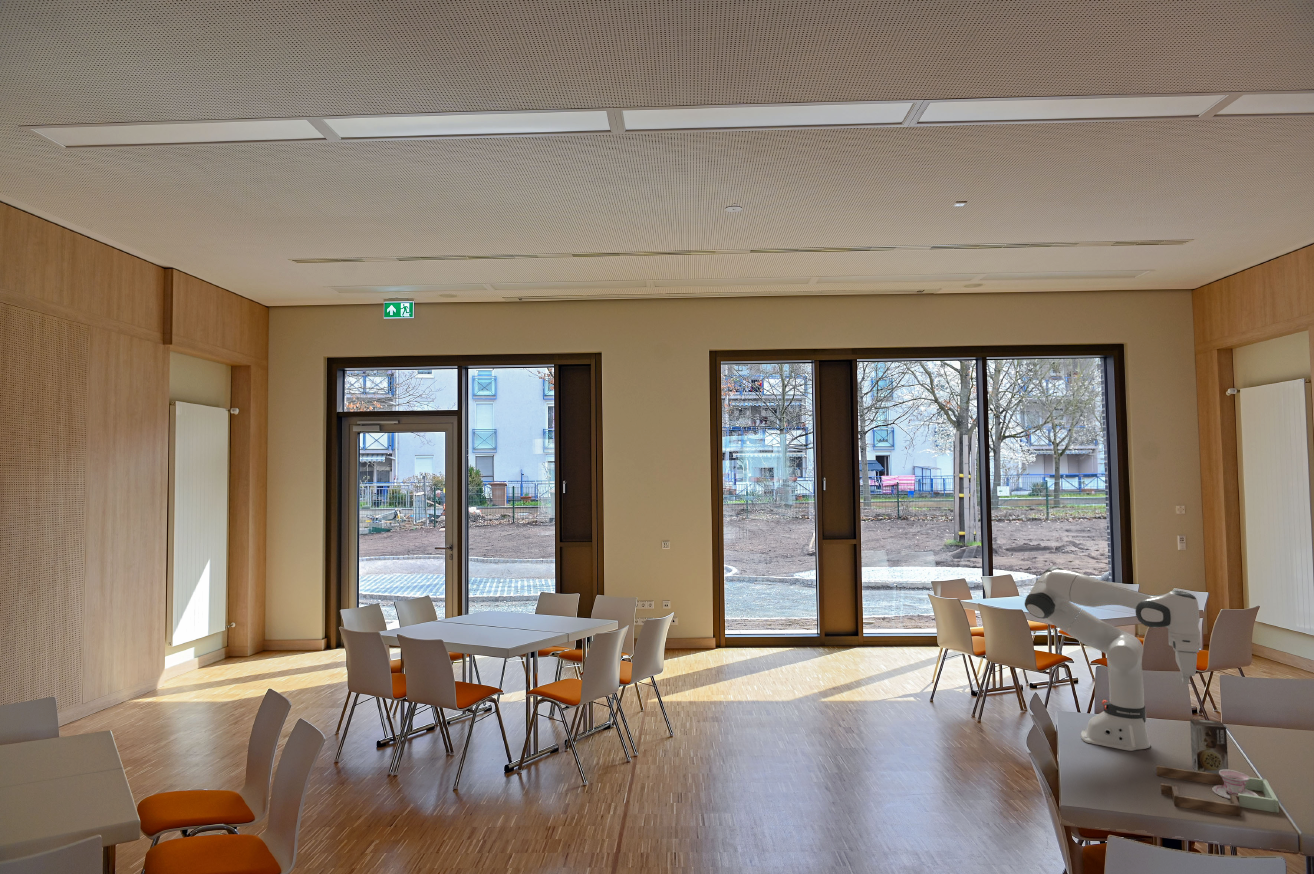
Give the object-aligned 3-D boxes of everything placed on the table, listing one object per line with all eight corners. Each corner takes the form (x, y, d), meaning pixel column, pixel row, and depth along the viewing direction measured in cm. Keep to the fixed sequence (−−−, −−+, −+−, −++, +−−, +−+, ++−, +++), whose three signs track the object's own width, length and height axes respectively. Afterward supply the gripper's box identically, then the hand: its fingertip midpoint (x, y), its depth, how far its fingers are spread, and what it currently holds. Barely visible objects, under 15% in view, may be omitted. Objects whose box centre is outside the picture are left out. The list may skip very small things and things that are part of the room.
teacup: (1203, 786, 256) (1203, 766, 256) (1243, 787, 255) (1243, 767, 255) (1226, 802, 244) (1226, 781, 244) (1268, 803, 243) (1268, 782, 243)
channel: (1163, 803, 243) (1163, 794, 243) (1156, 774, 265) (1156, 765, 265) (1244, 817, 233) (1243, 806, 234) (1229, 785, 256) (1229, 775, 256)
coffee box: (1222, 768, 269) (1220, 720, 270) (1229, 775, 263) (1227, 726, 264) (1191, 765, 272) (1189, 718, 273) (1197, 772, 266) (1195, 724, 267)
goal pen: (1239, 806, 240) (1238, 794, 241) (1229, 785, 256) (1229, 774, 256) (1278, 812, 236) (1278, 800, 236) (1266, 790, 251) (1266, 779, 251)
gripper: (1169, 633, 274) (1171, 674, 274) (1176, 646, 256) (1177, 689, 256) (1191, 635, 271) (1193, 676, 271) (1199, 648, 253) (1201, 692, 253)
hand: (1185, 682), depth 263 cm, fingers closed
